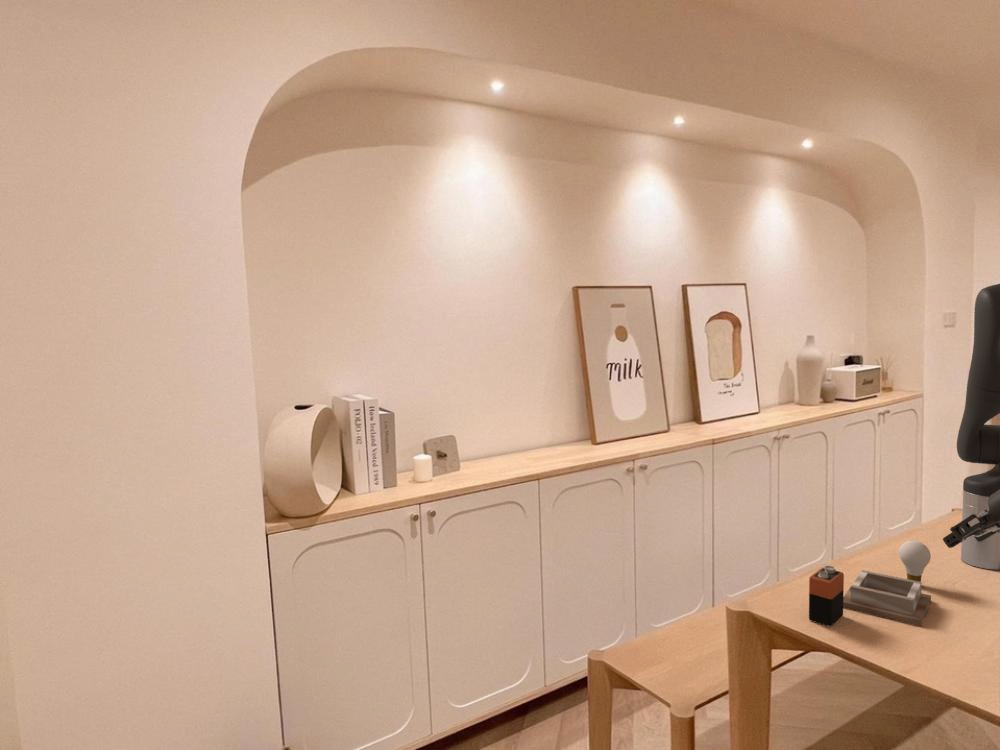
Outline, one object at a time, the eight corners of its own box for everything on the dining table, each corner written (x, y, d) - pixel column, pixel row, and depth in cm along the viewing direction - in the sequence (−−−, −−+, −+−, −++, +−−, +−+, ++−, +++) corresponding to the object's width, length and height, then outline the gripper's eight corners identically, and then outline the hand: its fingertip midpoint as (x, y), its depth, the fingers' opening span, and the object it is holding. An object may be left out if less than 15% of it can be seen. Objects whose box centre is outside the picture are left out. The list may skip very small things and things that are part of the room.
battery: (844, 616, 128) (844, 567, 128) (831, 627, 124) (831, 577, 123) (821, 609, 132) (821, 562, 131) (807, 620, 127) (808, 571, 126)
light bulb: (919, 592, 138) (921, 547, 137) (892, 583, 143) (893, 539, 142) (935, 586, 140) (936, 542, 140) (908, 577, 146) (909, 534, 145)
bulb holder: (855, 584, 143) (856, 566, 143) (930, 600, 134) (931, 581, 133) (840, 606, 132) (840, 587, 132) (920, 626, 123) (921, 605, 123)
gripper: (1035, 478, 124) (972, 519, 136) (984, 487, 119) (924, 528, 131) (1066, 513, 119) (998, 552, 131) (1014, 523, 115) (949, 563, 127)
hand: (961, 540), depth 131 cm, fingers open, 8 cm apart
